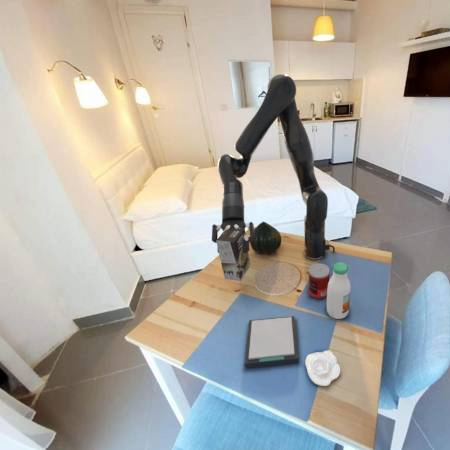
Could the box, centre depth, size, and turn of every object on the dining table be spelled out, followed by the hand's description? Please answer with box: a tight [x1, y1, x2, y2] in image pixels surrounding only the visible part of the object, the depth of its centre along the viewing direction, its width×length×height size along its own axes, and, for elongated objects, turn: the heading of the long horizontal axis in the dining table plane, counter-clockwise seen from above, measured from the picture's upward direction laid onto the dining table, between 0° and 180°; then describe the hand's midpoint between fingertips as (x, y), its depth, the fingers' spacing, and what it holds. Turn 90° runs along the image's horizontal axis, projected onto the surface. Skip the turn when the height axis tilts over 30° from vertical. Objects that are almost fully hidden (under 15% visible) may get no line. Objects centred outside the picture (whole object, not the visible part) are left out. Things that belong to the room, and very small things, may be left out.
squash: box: [249, 221, 282, 255], centre depth 121 cm, size 14×15×15 cm
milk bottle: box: [326, 261, 352, 320], centre depth 84 cm, size 8×8×20 cm
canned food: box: [308, 263, 331, 300], centre depth 94 cm, size 8×8×11 cm
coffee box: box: [216, 228, 251, 282], centre depth 86 cm, size 9×6×16 cm
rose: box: [304, 350, 341, 387], centre depth 69 cm, size 10×4×10 cm
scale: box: [244, 315, 299, 370], centre depth 77 cm, size 15×15×3 cm
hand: (233, 253), depth 84 cm, fingers closed on coffee box, 8 cm apart
